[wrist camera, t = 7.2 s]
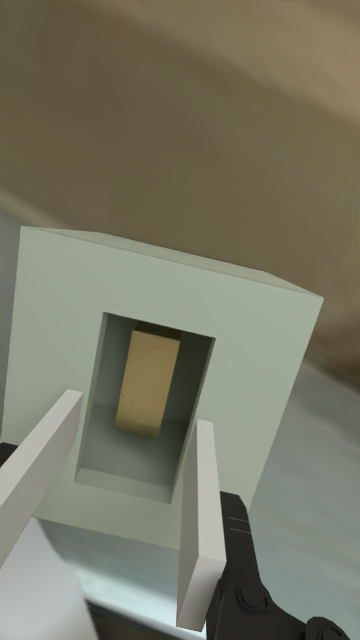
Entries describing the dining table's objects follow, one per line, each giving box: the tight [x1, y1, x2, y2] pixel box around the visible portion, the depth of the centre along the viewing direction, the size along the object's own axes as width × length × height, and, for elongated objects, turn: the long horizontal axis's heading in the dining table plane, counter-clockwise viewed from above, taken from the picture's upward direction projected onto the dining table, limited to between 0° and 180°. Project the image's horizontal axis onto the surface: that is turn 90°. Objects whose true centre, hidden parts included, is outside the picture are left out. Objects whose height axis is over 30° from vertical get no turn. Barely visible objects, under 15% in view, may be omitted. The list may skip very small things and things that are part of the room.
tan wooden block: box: [114, 320, 182, 438], centre depth 23 cm, size 7×3×7 cm, turn 168°
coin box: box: [1, 226, 324, 550], centre depth 22 cm, size 16×14×12 cm
